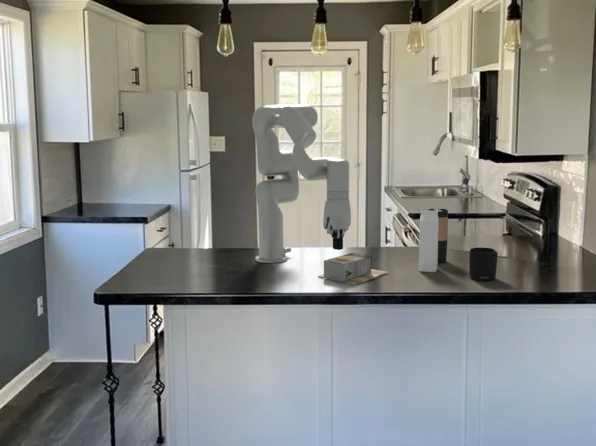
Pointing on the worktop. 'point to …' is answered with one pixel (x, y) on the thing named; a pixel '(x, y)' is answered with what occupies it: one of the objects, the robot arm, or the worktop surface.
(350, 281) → the tan wooden board
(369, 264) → the coffee box
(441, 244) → the travel mug
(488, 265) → the pen holder
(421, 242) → the milk
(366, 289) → the worktop surface
